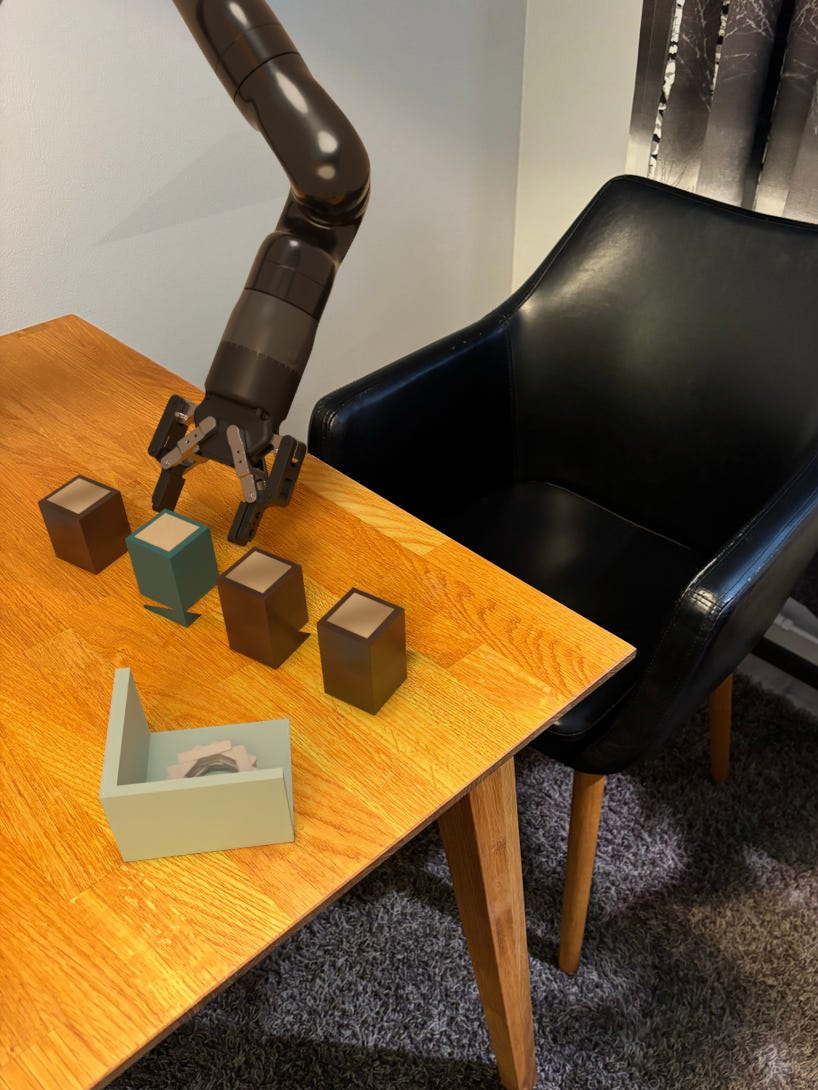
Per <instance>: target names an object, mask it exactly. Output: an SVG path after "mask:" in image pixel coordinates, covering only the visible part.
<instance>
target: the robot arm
mask: <svg viewBox="0 0 818 1090" xmlns="http://www.w3.org/2000/svg"><path fill="white" fill-rule="evenodd" d="M171 1H172V4H173V5H174V7H175V8H176V10H177V11H178V13H179V15H180V17H181V18H182V20H183V22H184V23H185V26H186V28H187V29H188V31H189V33H190V35H191V36H192V38H193V40H194V42H195V43H196V45H197V46H198V48H199V50H200V51H201V53H202V55H203V57H204V59H205V60H206V62H207V63H208V65H209V66H210V68H211V69H212V71H213V73H214V74H215V76H216V78H217V79H218V81H219V82H220V84H221V85H222V87H223V89H224V91H226V93H227V95H228V96H229V98H230V99H231V101H232V102H233V104H234V105H235V107H236V108H237V110H238V111H239V113H240V114H241V116H242V117H243V118H244V119H245V121H246V123H248V124H249V126H250V127H251V128H252V129H253V130H254V131H256V132H258V133H260V134H261V135H262V137H263V138H264V140H265V142H266V143H267V145H268V147H269V148H270V150H271V151H272V153H273V154H274V156H275V158H276V159H277V162H278V163H279V164H280V166H281V168H282V170H283V172H284V173H285V175H286V177H287V179H288V181H289V185H290V187H289V190H288V194H287V198H286V200H285V204H284V206H283V208H282V211H281V213H280V216H279V218H278V221H277V223H276V226H275V228H274V231H272V232H270V233H269V234H267V235H266V236H265V238H264V239H263V240H262V241H261V243H260V246H259V248H258V249H257V252H256V254H255V257H254V260H253V262H252V264H251V267H250V270H249V272H248V275H247V277H246V280H245V283H244V286H243V290H242V291H241V292H240V296H239V298H237V299H238V300H237V301H236V303H235V304H234V307H233V308H232V310H231V312H230V315H229V317H228V320H227V322H226V325H225V327H224V329H223V333H222V335H221V338H220V341H219V343H218V346H217V349H216V350H215V351H216V352H215V354H214V357H213V360H212V362H211V365H210V368H209V370H208V373H207V376H206V378H205V381H204V389H205V390H204V392H205V393H204V397H203V399H202V400H201V402H200V403H199V404H198V405H197V404H195V403H194V402H192V401H191V400H189V399H187V398H185V397H183V396H181V395H179V394H172V395H171V396H170V397H169V399H168V401H167V403H166V406H165V407H164V411H163V413H162V415H161V417H160V420H159V422H158V424H157V426H156V429H155V431H154V434H153V435H152V438H151V440H150V443H149V445H148V447H147V453H148V455H149V456H150V457H152V458H154V459H155V460H156V462H158V463H159V464H160V467H161V471H160V474H159V477H158V479H157V482H156V485H155V487H154V491H153V493H152V496H151V503H152V505H151V509H152V511H153V512H156V513H157V514H158V513H160V512H161V511H162V510H164V509H168V510H170V511H173V512H175V509H176V506H177V504H178V502H179V499H180V496H181V494H182V491H183V488H184V485H185V483H186V480H187V479H186V478H185V477H183V476H185V475H187V474H188V473H189V472H191V471H192V470H193V469H194V468H196V467H197V466H198V465H203V464H205V463H207V462H209V461H213V462H215V463H218V464H221V465H224V466H227V467H229V468H232V469H234V470H235V474H236V476H237V477H238V479H239V480H240V484H241V488H242V493H243V498H244V500H245V501H243V500H240V502H239V505H238V507H237V509H236V513H235V514H234V517H233V520H232V523H231V525H230V528H229V531H228V533H227V536H226V541H227V542H228V543H231V544H233V545H235V546H239V547H242V548H244V547H246V546H247V545H248V543H252V541H253V540H254V538H255V537H256V534H257V531H258V529H259V526H260V524H261V521H262V519H263V516H264V513H265V511H266V510H267V509H269V508H272V507H273V508H282V509H285V508H287V507H288V506H290V503H291V500H292V497H293V494H294V491H295V488H296V485H297V482H298V479H299V476H300V473H301V469H302V466H303V464H304V460H305V457H306V454H307V451H308V445H307V444H306V443H305V442H304V441H301V440H300V439H297V438H296V437H294V436H292V435H290V434H284V435H280V428H281V425H282V423H283V422H284V421H286V419H287V418H288V415H289V413H290V410H291V408H292V405H293V402H294V400H295V397H296V394H297V392H298V389H299V387H300V384H301V381H302V379H303V376H304V373H305V370H306V368H307V366H308V363H309V360H310V358H311V355H312V353H313V349H314V345H315V341H316V337H317V334H318V333H317V332H318V329H319V325H320V323H321V321H322V318H323V315H324V313H325V310H326V307H327V304H328V302H329V299H330V296H331V294H332V291H333V288H334V284H335V280H336V278H337V274H338V271H339V269H340V267H341V265H342V263H343V262H344V260H345V258H346V256H347V254H348V252H349V250H350V248H351V246H352V244H353V243H354V240H355V239H356V236H357V234H358V232H359V230H360V228H361V225H362V223H363V220H364V217H365V215H366V212H367V210H368V208H369V207H368V206H369V203H370V198H371V191H372V190H371V189H372V188H371V187H372V186H371V182H372V181H371V161H370V158H369V154H368V151H367V148H366V146H365V144H364V142H363V140H362V138H361V136H360V135H359V132H358V131H357V129H355V126H353V125H354V124H352V123H351V120H350V119H349V118H348V117H347V115H346V113H344V111H343V110H342V109H341V107H340V106H339V105H338V104H337V102H335V100H334V99H333V98H332V97H331V96H330V94H329V93H328V92H327V91H326V90H325V89H324V87H323V86H322V85H321V84H320V83H319V82H318V81H317V79H316V78H315V77H314V76H313V74H312V73H311V70H310V69H309V66H308V64H307V63H306V62H305V60H304V58H303V57H302V54H301V53H300V51H299V49H298V48H297V47H296V44H295V43H294V42H293V40H292V38H291V37H290V36H289V33H288V32H287V31H286V29H285V27H284V26H283V24H282V23H281V21H280V20H279V18H278V17H277V15H276V14H275V12H274V10H273V9H272V7H271V6H270V5H269V3H268V2H267V1H266V0H171ZM3 2H4V0H0V7H1V5H2V4H3ZM191 425H194V429H192V430H191V431H190V432H189V433H187V432H188V430H189V427H190V426H191ZM272 452H273V456H274V461H273V463H272V467H271V471H270V473H269V471H268V467H267V466H268V465H267V461H266V457H267V456H268V455H269V454H270V453H272Z"/></svg>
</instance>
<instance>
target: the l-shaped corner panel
mask: <svg viewBox="0 0 818 1090" xmlns="http://www.w3.org/2000/svg"><path fill="white" fill-rule="evenodd" d="M290 722H291V721H290V718H279V719H269V720H261V721H252V722H240V723H233V724H232V723H231V724H223V725H213V726H212V725H211V726H203V727H193V728H184V729H174V730H164V731H155V732H151V731H150V730H151V729H150V726H149V722H148V720H147V717H146V713H145V711H144V707H143V704H142V701H141V698H140V695H139V691H138V688H137V685H136V682H135V678H134V675H133V672H132V669H131V667H130V666H129V667H119V668H115V670H114V677H113V687H112V694H111V701H110V710H109V716H108V725H107V730H106V731H107V732H106V740H105V748H104V755H103V763H102V770H101V777H100V787H99V793H98V800H99V803H100V805H101V808H102V811H103V813H104V816H105V817H106V821H107V822H108V825H109V828H110V830H111V833H112V835H113V839H114V841H115V844H116V845H117V848H118V851H119V853H120V856H121V858H122V861H123V862H124V863H128V862H137V861H144V860H152V859H160V858H167V857H177V856H185V855H194V854H201V853H210V852H218V851H225V850H226V851H227V850H234V849H235V850H236V849H243V848H252V847H259V846H268V845H269V846H270V845H276V844H285V843H292V842H295V824H294V823H295V822H294V820H295V819H294V797H293V796H294V795H293V773H292V772H293V771H292V750H291V748H292V747H291V726H290V725H291V724H290Z"/></svg>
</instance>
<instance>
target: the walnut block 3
mask: <svg viewBox="0 0 818 1090" xmlns="http://www.w3.org/2000/svg"><path fill="white" fill-rule="evenodd" d="M315 624H316V633H317V640H318V649H319V656H320V658H319V659H320V665H321V674H322V682H323V691H324V694H327V695H329V696H331V697H334V698H335V699H337V700H340V701H342V702H344V703H346V704H349V705H350V706H353V707H355V708H357V709H360V710H361V711H363V712H366V713H368V714H370V715H372V716H375V715H376V714H378V712H379V711H380V710H381V708H382V707H383V706H384V705H385V704H386V703H387V702H388V700H389V699H390V698H391V697H392V696H393V695H394V694H395V692H396V691H397V690H398V689H399V688H400V687H401V685H402V684H403V683H404V682H405V681H406V680H407V678H408V665H407V663H408V662H407V639H406V637H407V636H406V633H407V632H406V610H405V608H404V607H402V606H400V605H398V604H395V603H392V602H391V601H388V600H385V599H383V598H380V597H378V596H376V595H373V594H371V593H368V592H366V591H364V590H362V589H358V588H356V587H354V586H352V587H351V589H349V590H348V591H347V592H346V593H345V594H344V595H343V596H342V597H341V598H340V599H339V600H338V601H337V602H335V604H334V605H333V606H331V608H330V609H329V610H328V611H326V613H325V614H324V615H323V616H321V618H320V619H318V621H317V622H316V623H315Z"/></svg>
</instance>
